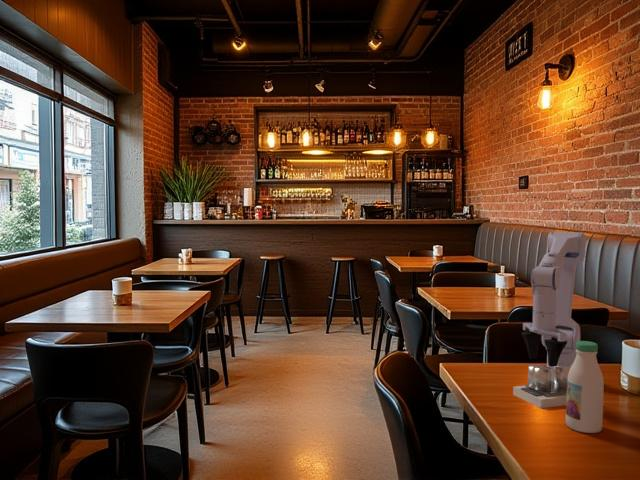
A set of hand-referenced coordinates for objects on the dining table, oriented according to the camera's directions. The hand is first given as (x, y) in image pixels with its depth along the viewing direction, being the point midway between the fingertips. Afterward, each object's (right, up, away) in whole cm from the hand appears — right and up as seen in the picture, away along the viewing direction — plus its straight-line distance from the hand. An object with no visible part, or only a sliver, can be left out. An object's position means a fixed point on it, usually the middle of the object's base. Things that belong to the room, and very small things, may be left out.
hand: (542, 362), depth 152 cm
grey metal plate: (+3, -7, +1) cm, 8 cm away
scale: (+2, -10, 0) cm, 10 cm away
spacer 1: (+3, -9, +12) cm, 15 cm away
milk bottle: (+2, -11, -19) cm, 23 cm away
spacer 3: (+6, -7, +2) cm, 9 cm away
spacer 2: (0, -7, 0) cm, 7 cm away
